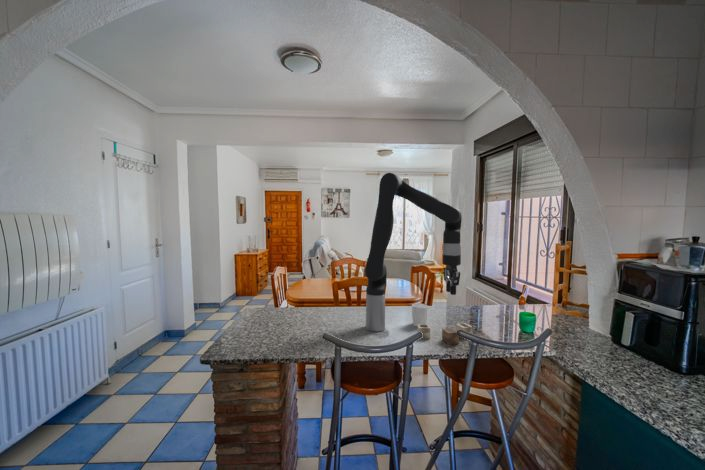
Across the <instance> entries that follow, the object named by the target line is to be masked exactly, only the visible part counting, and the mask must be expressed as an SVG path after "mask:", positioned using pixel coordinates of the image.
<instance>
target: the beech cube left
mask: <svg viewBox="0 0 705 470" xmlns="http://www.w3.org/2000/svg"><path fill="white" fill-rule="evenodd" d="M419 331H420V332H422V333H423V338H421V339H424V340H426V339H428V340H430V339H431V327H430V324H427V323H426V324H418V327H417V332H419Z"/></svg>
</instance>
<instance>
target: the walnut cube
mask: <svg viewBox="0 0 705 470" xmlns="http://www.w3.org/2000/svg"><path fill="white" fill-rule="evenodd" d="M441 330H442V331H441V340H442V341H443V342H444V343H445V344H447V345H458V344H460V336H458V335H457V331H456V328H453V327H450V328H442V329H441Z"/></svg>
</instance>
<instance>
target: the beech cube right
mask: <svg viewBox="0 0 705 470" xmlns="http://www.w3.org/2000/svg"><path fill="white" fill-rule="evenodd" d="M455 327H456V328H455V330H456V331H457V330H464V331H467V332H469V333H472V334H473V331H474V330H473V328H474V327H473V326H472V325H470V324H469V323H466V322H462V323H455Z"/></svg>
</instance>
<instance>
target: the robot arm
mask: <svg viewBox="0 0 705 470" xmlns="http://www.w3.org/2000/svg"><path fill="white" fill-rule="evenodd" d="M378 186H379V188H378V200H377V205H376V211H375V217H374V220H373V221H374V222H373V228H372V234H371V235H372V236H371V241H370V249H369V253H368V256H367V257H368V258H367V260H366V263H365V267H364V275H365V277H366V278H367V279H368V281H367V286H366V294H365V295H366V297H365V299H366V300H365V302H366V304H365V329H366V331H370V332H375V333H377V332H378V333H379V332H382V331H384V330H385V329H386V288H387V275H388V272H387V270H388V269H387V266H386V264H385V262H384V260H385V254H386V251H387V248H388V246H389V245H390V244H389V243H390V242H391V238H392V234H393V230H394V224H395V221H394V220H395V219H394V199H395V196H397V197H400V198H402V199H405V200H407V201H409V202H411V203H412V204H414V205H415V206H416V207H418V208H420V209H421V210H424V211H425V212H427V213H429V214H431V215H433V216H435V217H436V218H438V219H439V220H441V221H443V222H444V231H443V234H442V235H443V236H442V238H443V240H442V250H441V251H442V252H441V253H442V255H441V257H442V258H441V259H442V261H441V263H442V265H443V266H444V265H445V267H443V268H442V271H443V281H444V283H445V287H446V288H445V292H447V293H450V295H452V296H455V295H456V294H457V286H460V279H461V271H458V266H460V265H461V264H462V263H461V261H462V246H461V229H462V228H461V227H462V220H463V219H462V211H461V210H460V209H459V208H456V207H454V206H452V205H449V204H448V203H445V202H443V201H442V200H440V199H439V198H436V196H433V195H430V194H429V193H426V192H424V191H421V190H419V189H416V188H414V187H412V186H411V185H410V184H408V183H406V182H405V181H404V180H403V179H402V178H401V177H400V176H399V175H397V174H395V173H393V172H386V173H384V174H383V175H382V177H381V178H380V181H379V185H378Z"/></svg>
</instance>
